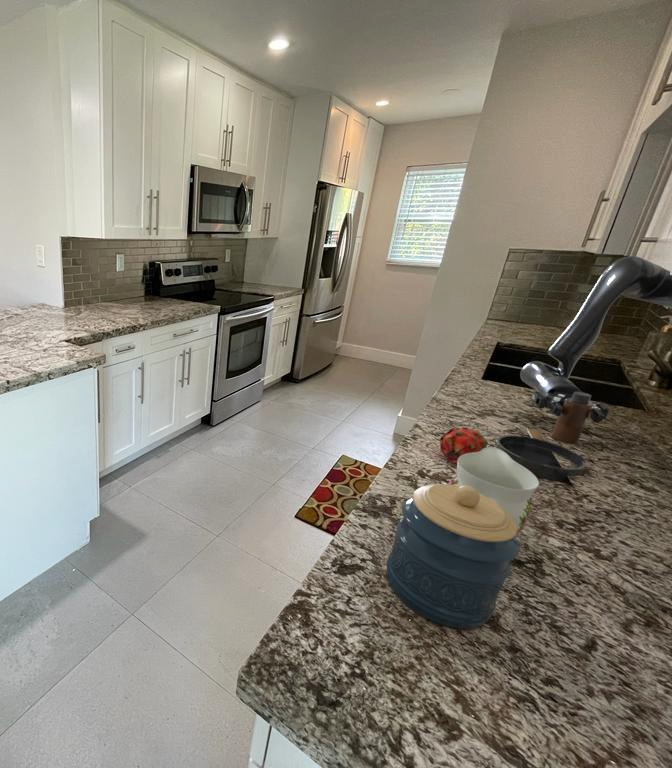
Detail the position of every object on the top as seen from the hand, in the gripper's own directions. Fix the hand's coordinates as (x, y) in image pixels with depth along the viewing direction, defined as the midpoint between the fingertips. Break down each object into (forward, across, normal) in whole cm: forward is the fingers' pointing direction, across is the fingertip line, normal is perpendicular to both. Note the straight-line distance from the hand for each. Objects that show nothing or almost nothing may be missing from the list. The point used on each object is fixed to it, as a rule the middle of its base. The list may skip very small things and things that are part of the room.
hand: (579, 415), depth 96 cm
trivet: (-2, 0, +9) cm, 10 cm away
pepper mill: (-2, 0, +8) cm, 9 cm away
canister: (+67, -29, +10) cm, 73 cm away
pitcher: (+51, -23, +10) cm, 56 cm away
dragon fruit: (+21, -23, +10) cm, 32 cm away
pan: (+13, -8, +9) cm, 18 cm away
